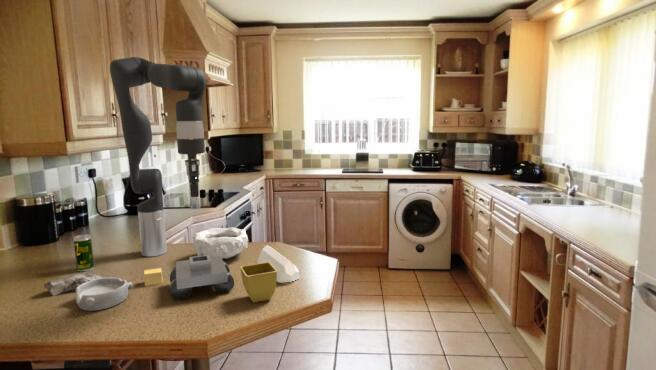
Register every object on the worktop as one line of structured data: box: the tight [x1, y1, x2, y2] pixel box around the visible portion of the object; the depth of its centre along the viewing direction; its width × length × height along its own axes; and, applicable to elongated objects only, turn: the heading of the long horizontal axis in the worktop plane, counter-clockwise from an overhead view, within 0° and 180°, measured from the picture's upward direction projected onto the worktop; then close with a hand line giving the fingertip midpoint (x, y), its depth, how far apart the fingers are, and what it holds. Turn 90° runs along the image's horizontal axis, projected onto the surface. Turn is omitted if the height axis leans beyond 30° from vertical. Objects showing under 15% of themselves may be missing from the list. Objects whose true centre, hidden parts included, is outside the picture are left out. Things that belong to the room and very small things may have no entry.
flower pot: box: [239, 262, 277, 304], centre depth 117 cm, size 9×9×9 cm
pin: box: [187, 176, 201, 210], centre depth 121 cm, size 4×4×11 cm
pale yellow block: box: [143, 267, 163, 287], centre depth 131 cm, size 4×5×4 cm
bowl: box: [192, 226, 250, 260], centre depth 154 cm, size 21×20×10 cm
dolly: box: [169, 255, 235, 301], centre depth 125 cm, size 16×18×10 cm
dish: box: [75, 276, 133, 312], centre depth 118 cm, size 14×14×5 cm
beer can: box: [73, 233, 95, 273], centre depth 143 cm, size 5×5×12 cm
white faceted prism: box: [257, 244, 301, 284], centre depth 138 cm, size 7×7×24 cm
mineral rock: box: [43, 273, 103, 296], centre depth 127 cm, size 15×8×4 cm, turn 119°
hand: (194, 195), depth 121 cm, fingers closed on pin, 2 cm apart
